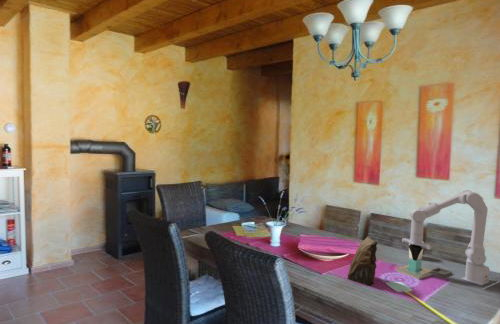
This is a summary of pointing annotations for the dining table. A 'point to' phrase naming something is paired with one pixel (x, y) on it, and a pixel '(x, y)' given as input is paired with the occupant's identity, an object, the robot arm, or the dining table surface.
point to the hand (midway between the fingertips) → (415, 259)
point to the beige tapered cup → (418, 256)
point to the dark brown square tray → (441, 272)
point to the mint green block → (414, 265)
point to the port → (417, 275)
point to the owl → (364, 263)
